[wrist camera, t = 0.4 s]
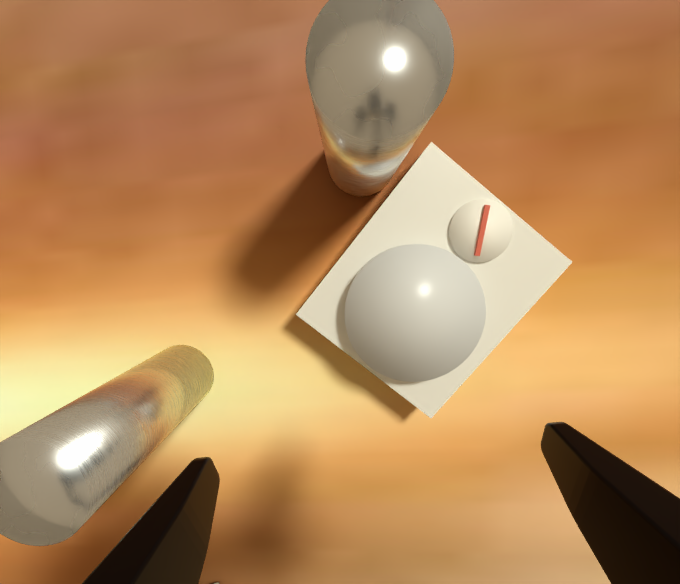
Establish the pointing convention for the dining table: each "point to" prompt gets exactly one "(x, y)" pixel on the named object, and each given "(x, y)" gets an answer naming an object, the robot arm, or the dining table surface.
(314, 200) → the dining table surface
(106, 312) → the dining table surface
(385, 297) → the scale
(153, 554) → the robot arm
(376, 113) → the cylinder
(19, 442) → the shiny silver cylinder
